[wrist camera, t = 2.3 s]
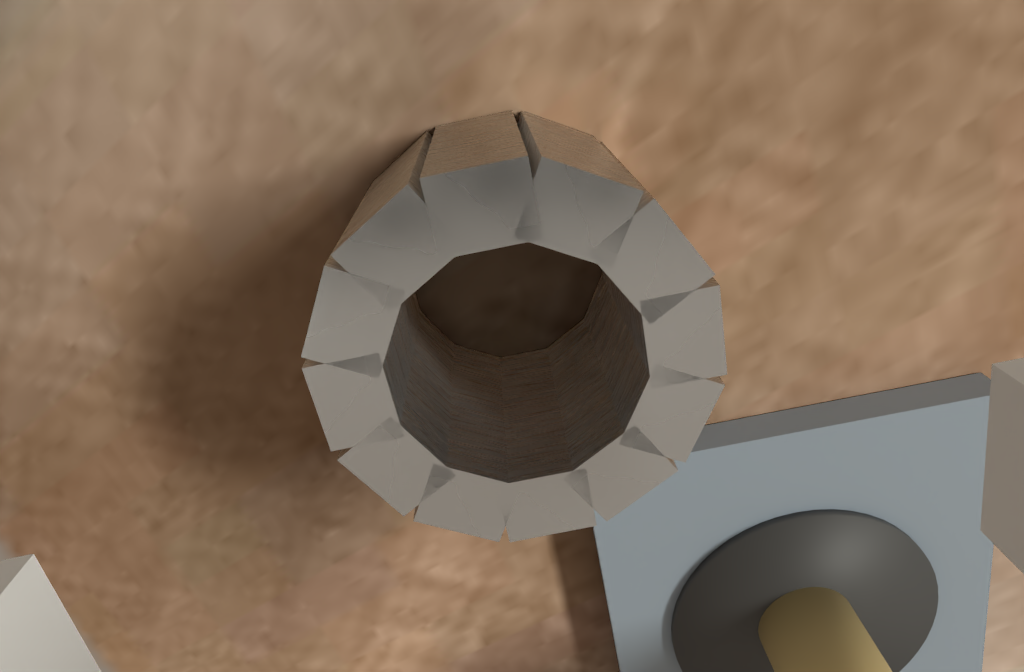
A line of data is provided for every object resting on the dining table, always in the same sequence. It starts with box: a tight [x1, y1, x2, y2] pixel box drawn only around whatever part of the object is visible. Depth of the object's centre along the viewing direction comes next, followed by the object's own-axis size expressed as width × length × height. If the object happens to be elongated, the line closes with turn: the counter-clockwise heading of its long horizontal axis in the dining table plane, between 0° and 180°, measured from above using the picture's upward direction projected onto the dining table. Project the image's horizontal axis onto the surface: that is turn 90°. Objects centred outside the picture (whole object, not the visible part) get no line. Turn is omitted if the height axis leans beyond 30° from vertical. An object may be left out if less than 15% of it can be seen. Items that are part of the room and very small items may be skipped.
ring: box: [301, 110, 727, 542], centre depth 17 cm, size 8×8×6 cm
